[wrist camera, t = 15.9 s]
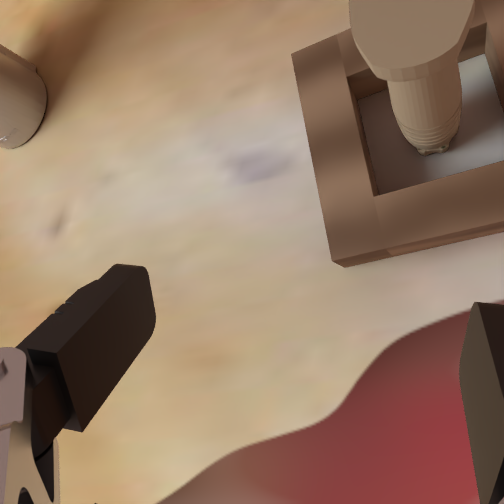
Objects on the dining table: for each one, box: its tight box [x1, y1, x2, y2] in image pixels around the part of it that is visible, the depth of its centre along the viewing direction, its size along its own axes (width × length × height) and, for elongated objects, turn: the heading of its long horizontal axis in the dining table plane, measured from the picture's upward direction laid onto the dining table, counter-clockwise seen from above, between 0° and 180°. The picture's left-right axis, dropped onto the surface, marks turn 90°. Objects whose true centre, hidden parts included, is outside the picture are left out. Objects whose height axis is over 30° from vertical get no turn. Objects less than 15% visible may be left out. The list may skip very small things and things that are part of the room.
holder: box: [291, 0, 504, 268], centre depth 31 cm, size 16×16×4 cm
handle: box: [349, 0, 475, 156], centre depth 25 cm, size 5×6×15 cm
